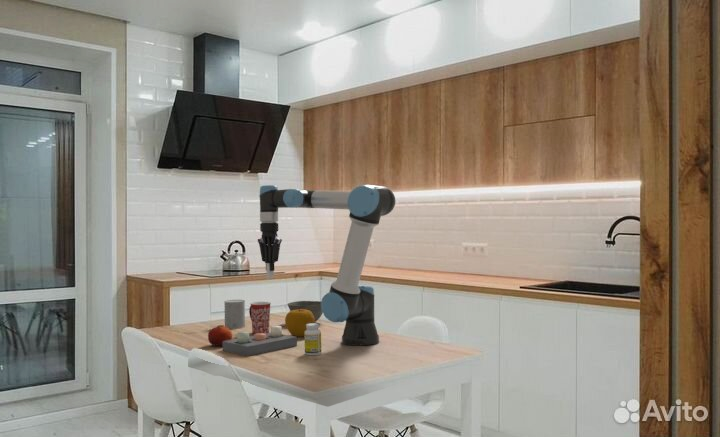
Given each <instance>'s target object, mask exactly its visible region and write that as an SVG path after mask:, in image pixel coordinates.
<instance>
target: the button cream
mask: <svg viewBox="0 0 720 437" xmlns="http://www.w3.org/2000/svg"><path fill="white" fill-rule="evenodd" d="M270 332H271V337H274V338H276V337H282V334H283V333H282V326H281V325H271V326H270Z"/></svg>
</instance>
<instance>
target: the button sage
mask: <svg viewBox="0 0 720 437" xmlns="http://www.w3.org/2000/svg"><path fill="white" fill-rule="evenodd" d="M236 334H237V338H236V339H238V343H239V344H245V343H249V336H250V332H249V331H238V332H237V333H236Z"/></svg>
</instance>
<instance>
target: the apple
mask: <svg viewBox="0 0 720 437" xmlns="http://www.w3.org/2000/svg"><path fill="white" fill-rule="evenodd" d="M284 320H285V321H284V323H285V327H286V329H287V331H288V332H289V333H290V334H291V336H295V337H297V338H304V333H305V331H306V330H307V328H306V324H311V323H316V322H315V318H314V316H313V314H312V312H311V311H309V310H306V309H297V310H292V311H290V310H289V312H287V314H286V316H285V319H284Z"/></svg>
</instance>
